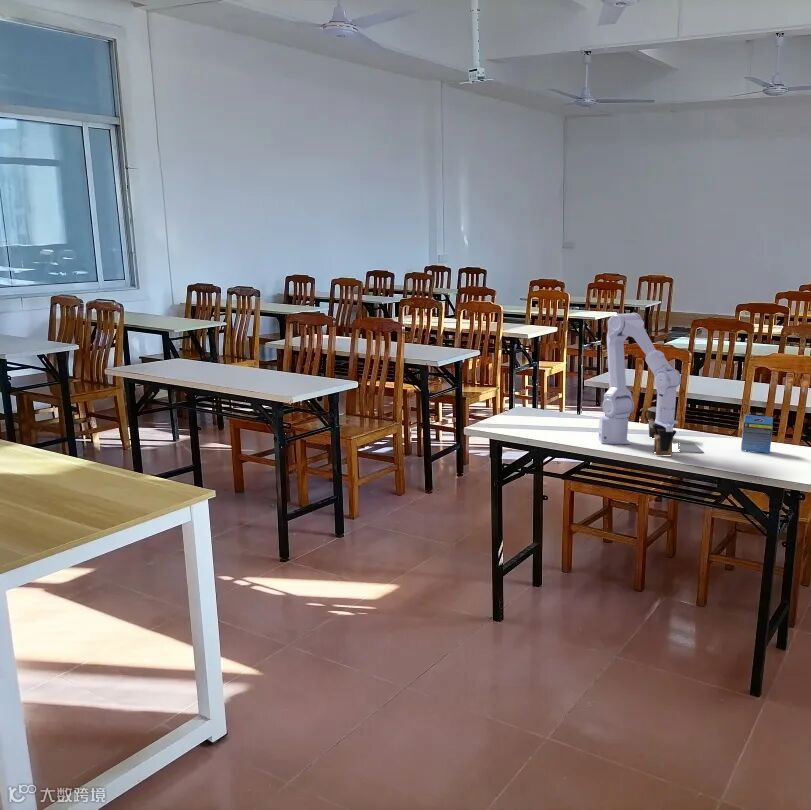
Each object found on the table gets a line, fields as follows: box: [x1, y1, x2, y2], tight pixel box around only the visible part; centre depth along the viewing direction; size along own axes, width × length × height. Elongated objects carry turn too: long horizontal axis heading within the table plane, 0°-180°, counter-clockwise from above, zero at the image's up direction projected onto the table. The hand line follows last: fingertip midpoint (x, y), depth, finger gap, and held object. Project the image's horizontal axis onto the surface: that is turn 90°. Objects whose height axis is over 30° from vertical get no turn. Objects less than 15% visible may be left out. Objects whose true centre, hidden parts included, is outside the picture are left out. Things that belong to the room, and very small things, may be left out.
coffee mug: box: [643, 407, 656, 438], centre depth 292 cm, size 12×9×10 cm
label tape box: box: [740, 414, 774, 454], centre depth 273 cm, size 9×4×12 cm, turn 68°
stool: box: [653, 435, 674, 456], centre depth 268 cm, size 5×4×6 cm
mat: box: [677, 442, 705, 454], centre depth 277 cm, size 12×12×1 cm
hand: (662, 448), depth 268 cm, fingers open, 5 cm apart
